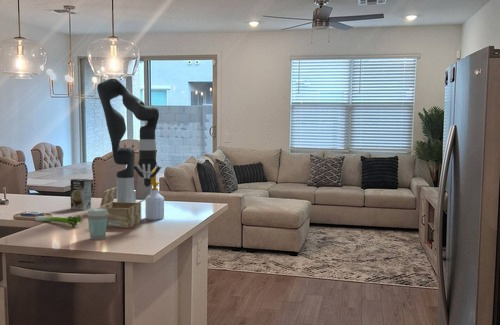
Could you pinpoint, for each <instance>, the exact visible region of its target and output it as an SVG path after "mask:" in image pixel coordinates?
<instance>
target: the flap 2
mask: <svg viewBox="0 0 500 325" xmlns="http://www.w3.org/2000/svg"><path fill="white" fill-rule="evenodd" d="M152 196H153V195H152ZM152 196H150V197H152ZM150 197H148V198H150ZM148 198H146V197H145V198H144V199H142V200H139V202H136V204H134V205H133V206H135V205H137V204H138V203H142V202H145V200H146V199H148ZM133 206H131V207H133ZM131 207H129V208H131Z"/></svg>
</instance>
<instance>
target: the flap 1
mask: <svg viewBox="0 0 500 325" xmlns="http://www.w3.org/2000/svg"><path fill="white" fill-rule="evenodd" d="M116 194H117V186H116V187H113V188H109V189H106V190H104V191H103V195H102V197H101V200H100V201H101V202H100V207H102V206H104V205H107V204H109V203H111V202H115V201H114V200H115V196H116Z"/></svg>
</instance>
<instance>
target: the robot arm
mask: <svg viewBox="0 0 500 325" xmlns="http://www.w3.org/2000/svg"><path fill="white" fill-rule="evenodd" d="M96 89H97V93H98V97H99V100H100V103H101V107H102V110H103V114H104V118H105V123H106V127H107V132H108V134H109V138H110V142H111V150H112V157H113V162H114V163H115V164H116V165H122V166H123V165H124V166H126V168H125V169H122V170H119V171H117V172H116V187H117V189H116V202H131V203H137V202H136V201H137V200H136V197H137V196H136V194H137V193H136V190H135V172H136V173H137V174H138V175H139V177H140V178H143V180H144V182H143V185H144V186H145V187H146V188H149V187H150V186H151V185H152V184H151V178H152V177H155V176H156V177H157V174H158V173H159V172H160V170H161V169H162V166H160V165H159V164H158V162H157V144H156V129H157V125H158V121H159V117H160V112H159V109H158V107H157V106H155V105H150V104H149V105H146V104H145V102H144V101H143V100H142V99H140V98H138V97H137V96H135V95H134V94H132V92H131V91H130V90H129V89H128V88H127V87H126V86H125V85H124V84H123V83H122V82H121V81H120V80H118V79H117V78H115V77H113V78H112V77H111V78H109V79H107V80H104V81H101V82H100V83H98V84H97V87H96ZM119 96H122V97H121V98H122V104H123V106H124V107H125V108H126V109H127V110H129V111H130V112H131V113H132V114H133V115H134V117H135V119H137V120H138V121H140V122H146V124H145V125H143V126H140V128H139V142H138V149H139V150H138V151H139V152H138V153H139V154H138V158H139V159H138V164H136V165H135V161H136V160H135V158H136V154H135V149H134V148H132V147H120V143H121V141H122V139H123V137H124V136H125V134H126V131H127V126H126V121H125V117H124V115H122V113H121V112H119V111H118V110H117V109H115V108H114V107H113V106H112V102H111V100H113V99H115V98H117V97H119ZM153 169H156V170H155V171H154V173H153V174H152V170H153Z"/></svg>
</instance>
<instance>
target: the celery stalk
mask: <svg viewBox="0 0 500 325" xmlns="http://www.w3.org/2000/svg"><path fill="white" fill-rule="evenodd" d="M35 222H56V223H64V224H65V223H66V224H68V225H69V226H72V228H73V229H74V228H75V226H77V225H78V224H81V223H82V222H83V219H82V217H81V216H80V215H79V214H78V215H74V216H68V217H59V216H43V215H42V216H41V215H39V216H37V217H36V218H35Z"/></svg>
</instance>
